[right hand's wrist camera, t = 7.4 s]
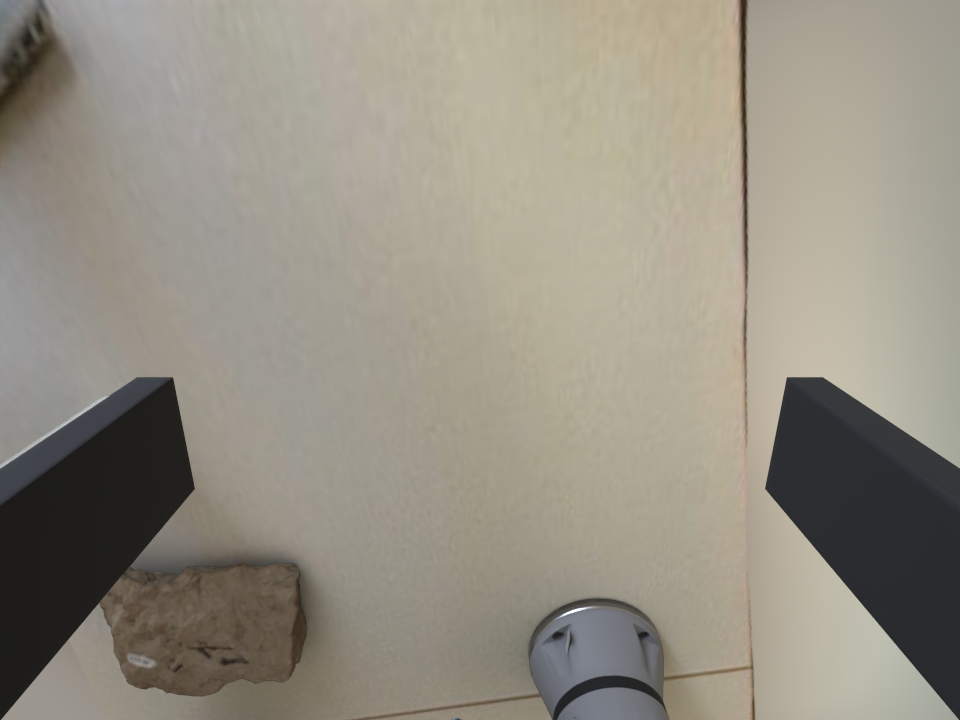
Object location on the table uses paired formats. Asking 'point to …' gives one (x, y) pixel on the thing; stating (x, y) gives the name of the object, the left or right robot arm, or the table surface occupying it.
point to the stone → (206, 626)
